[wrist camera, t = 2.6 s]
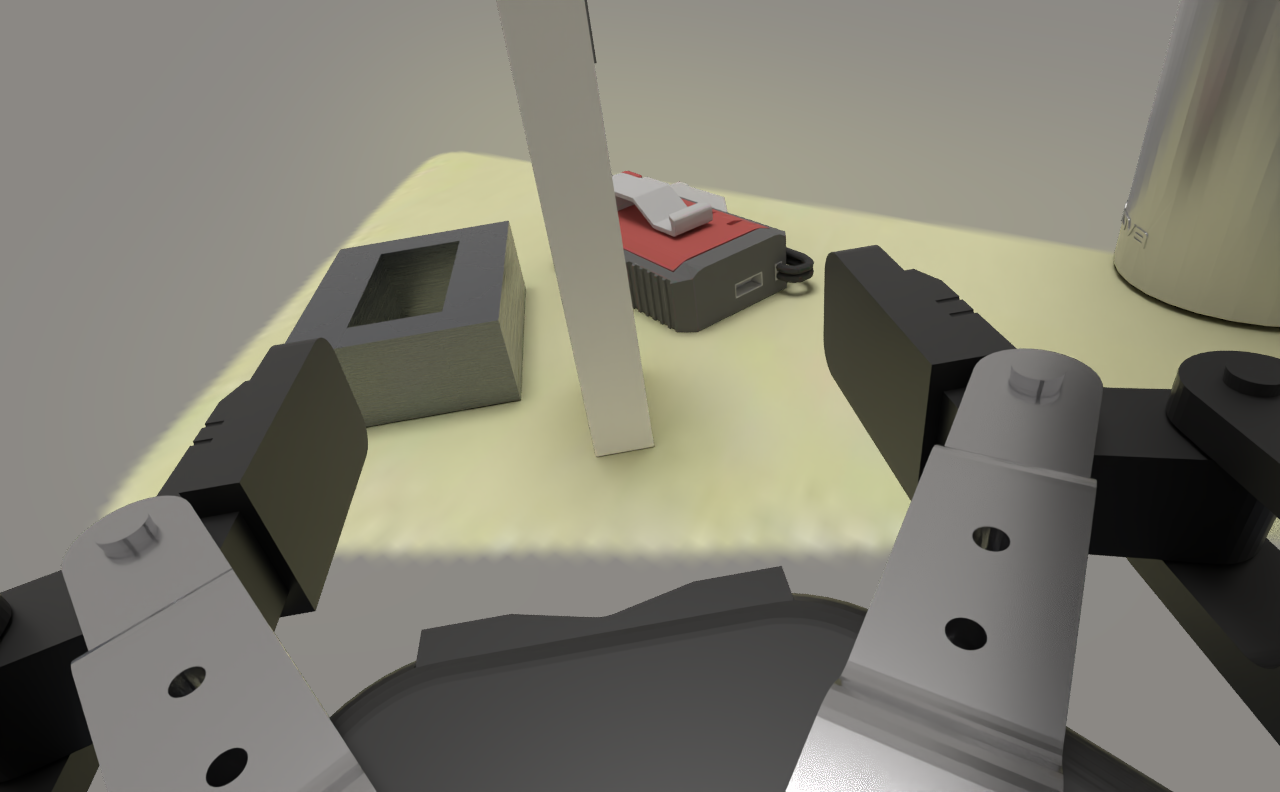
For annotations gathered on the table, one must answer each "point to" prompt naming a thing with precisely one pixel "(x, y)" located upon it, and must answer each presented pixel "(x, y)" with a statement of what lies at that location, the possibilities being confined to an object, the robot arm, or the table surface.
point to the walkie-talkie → (697, 254)
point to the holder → (424, 322)
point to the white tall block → (579, 210)
